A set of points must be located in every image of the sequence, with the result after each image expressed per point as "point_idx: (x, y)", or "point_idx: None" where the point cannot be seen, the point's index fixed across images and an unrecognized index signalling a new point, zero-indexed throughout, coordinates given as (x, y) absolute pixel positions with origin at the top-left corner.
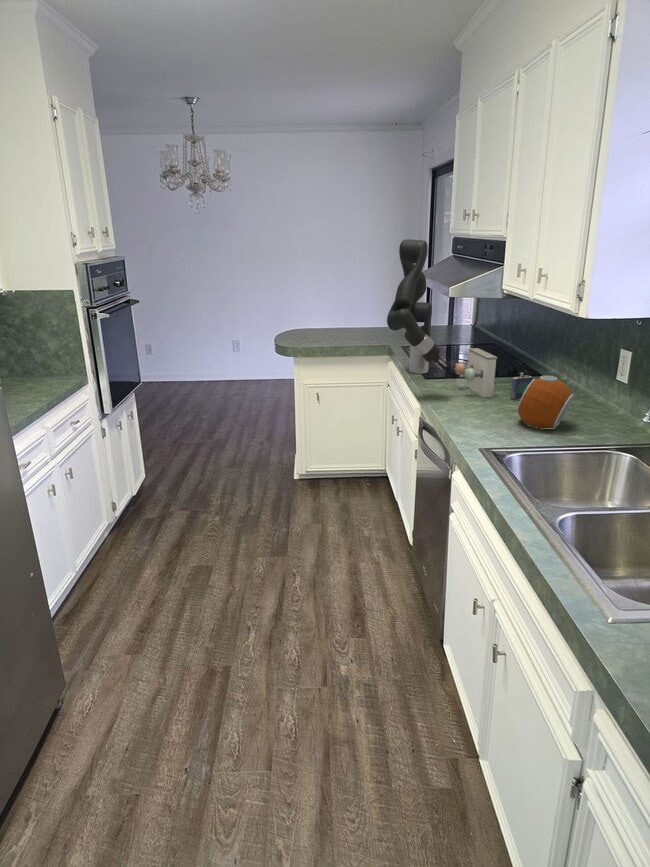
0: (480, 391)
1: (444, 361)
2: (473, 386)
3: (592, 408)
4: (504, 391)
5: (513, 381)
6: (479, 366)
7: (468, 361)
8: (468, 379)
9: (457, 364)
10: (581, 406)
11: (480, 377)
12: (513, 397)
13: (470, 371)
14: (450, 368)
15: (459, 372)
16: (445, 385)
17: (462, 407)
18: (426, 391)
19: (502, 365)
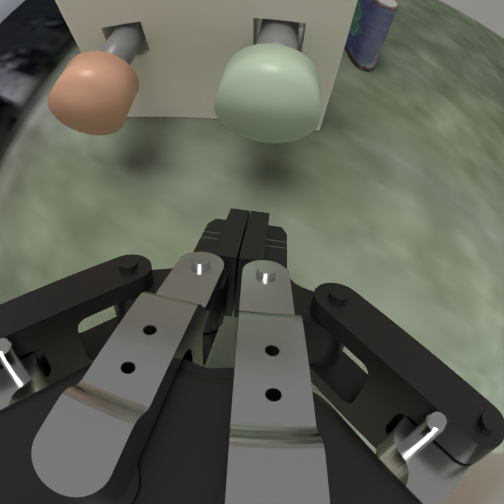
0: None
1: (307, 404)
2: (189, 104)
3: (444, 14)
4: None
5: (392, 16)
6: (236, 2)
7: (71, 27)
8: (303, 136)
9: (66, 89)
10: (432, 14)
11: None
12: (375, 62)
13: (311, 83)
14: (351, 298)
15: (125, 118)
16: (58, 199)
17: (447, 318)
18: None
19: (43, 6)
